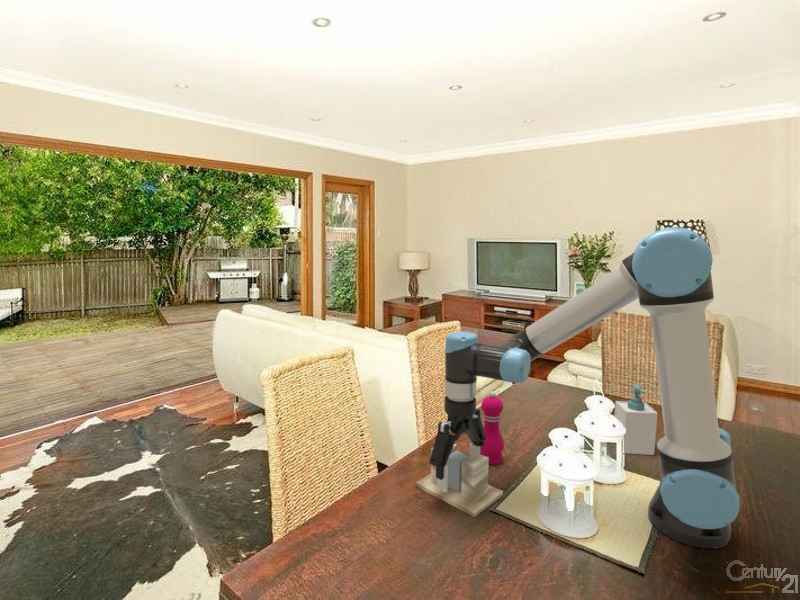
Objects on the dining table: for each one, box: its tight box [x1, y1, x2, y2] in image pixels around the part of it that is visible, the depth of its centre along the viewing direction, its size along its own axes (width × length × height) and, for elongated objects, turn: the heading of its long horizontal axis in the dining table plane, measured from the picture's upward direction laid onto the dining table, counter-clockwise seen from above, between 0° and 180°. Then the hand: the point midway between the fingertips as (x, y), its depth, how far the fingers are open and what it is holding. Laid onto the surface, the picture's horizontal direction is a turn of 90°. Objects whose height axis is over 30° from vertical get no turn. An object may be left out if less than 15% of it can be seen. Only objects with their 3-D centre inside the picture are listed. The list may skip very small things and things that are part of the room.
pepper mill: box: [480, 390, 505, 465], centre depth 125 cm, size 7×7×20 cm
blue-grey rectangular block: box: [446, 450, 469, 493], centre depth 110 cm, size 4×4×8 cm
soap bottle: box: [614, 383, 658, 456], centre depth 132 cm, size 9×9×19 cm
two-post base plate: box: [415, 443, 504, 518], centre depth 110 cm, size 18×12×10 cm, turn 46°
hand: (458, 479), depth 110 cm, fingers open, 12 cm apart
